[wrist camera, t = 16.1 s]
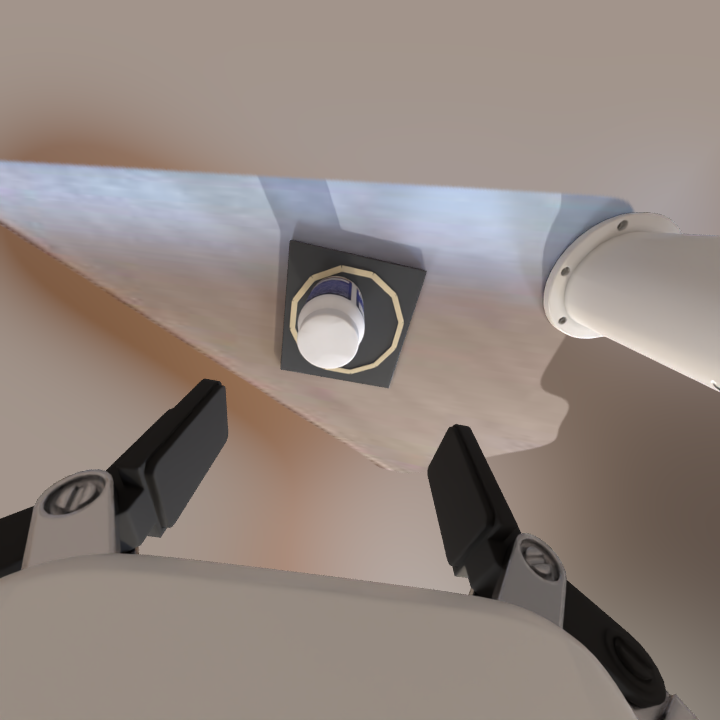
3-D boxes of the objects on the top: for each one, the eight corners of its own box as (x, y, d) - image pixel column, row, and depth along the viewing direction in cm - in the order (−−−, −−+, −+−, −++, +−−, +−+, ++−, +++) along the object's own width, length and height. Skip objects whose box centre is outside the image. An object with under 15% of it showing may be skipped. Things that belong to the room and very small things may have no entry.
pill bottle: (300, 305, 28) (274, 348, 19) (330, 262, 26) (317, 289, 17) (342, 335, 30) (335, 386, 21) (374, 298, 28) (381, 338, 19)
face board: (425, 270, 27) (427, 271, 26) (388, 385, 34) (388, 388, 33) (291, 239, 25) (289, 240, 25) (281, 367, 32) (280, 370, 32)
